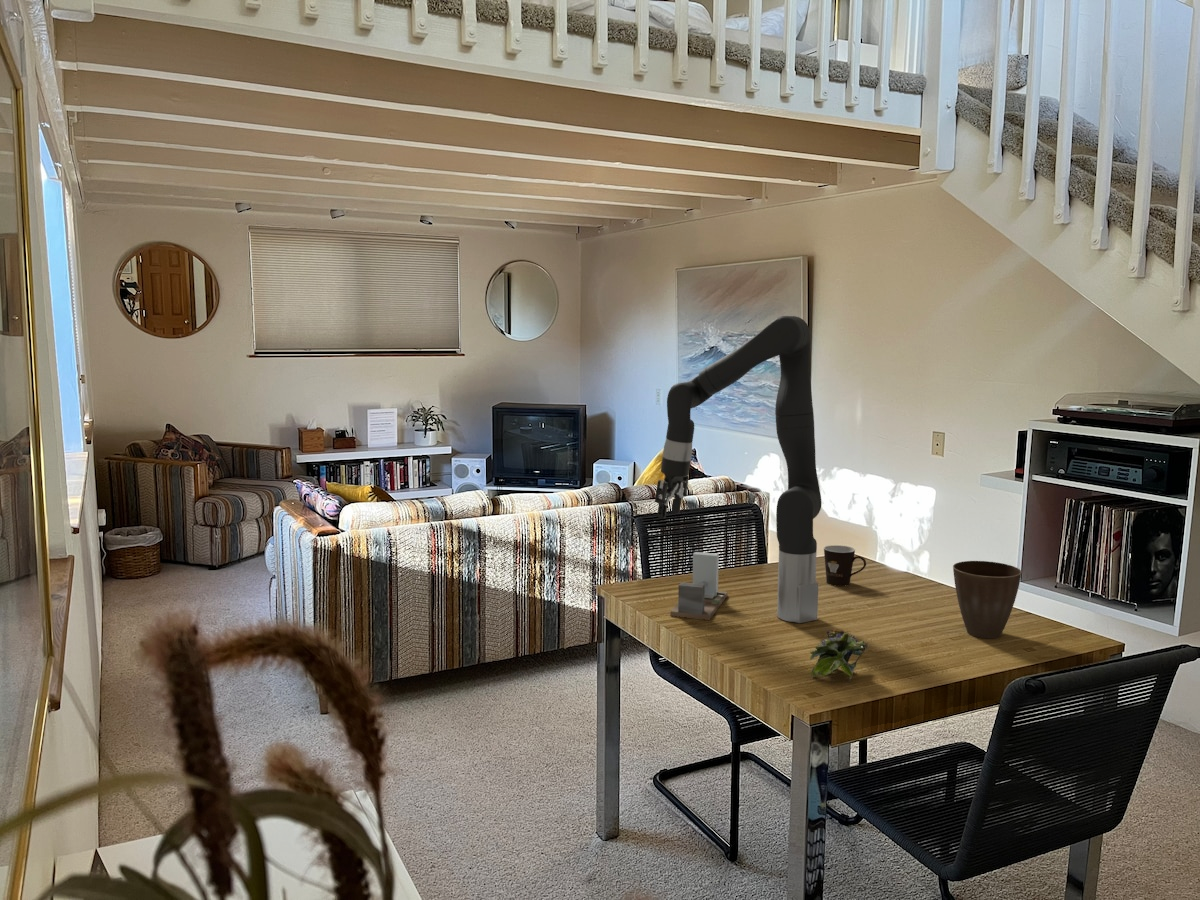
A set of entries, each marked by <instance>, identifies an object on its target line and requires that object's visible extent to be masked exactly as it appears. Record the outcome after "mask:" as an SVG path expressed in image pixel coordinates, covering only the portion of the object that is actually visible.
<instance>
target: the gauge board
mask: <svg viewBox="0 0 1200 900" xmlns="http://www.w3.org/2000/svg"><path fill="white" fill-rule="evenodd" d="M718 593H725V596H724V595H717V596H714V597H713V599H712V598H705V584H696V583H693V582H683V581H681V582H680V583H679V584H678V596H677V597H678V598H677V599H678V602H677V604H676V605H675V606H673V608H672V609H671V610H670V617H675V616H677V617H678V618H684V617H687V619H695V620H703V619H705V620H704V621H710V620H711V619H712V618H713V616H714V615H715V614H716V612H717V611H718V610H719V608H720V607H721V605H722V604H723V603H724V601H725V600H726V599H725V598H727V597H728V591H724V590H718ZM722 602H723V603H722ZM719 606H720V607H719ZM679 616H680V617H679ZM710 618H711V619H710Z"/></svg>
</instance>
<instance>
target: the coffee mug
mask: <svg viewBox="0 0 1200 900" xmlns="http://www.w3.org/2000/svg"><path fill="white" fill-rule="evenodd" d="M855 552H856V549H855V548H854V547H851V546H847V545H841V544H840V545H838V544H834V545H831V544H830V545H826V546H824V547H823V554H824V567H825V577H826V578H825V580H826V583H827V584H828V585H830V584H831V586H834V585H836V587H847V586H849V585H850V584H851V577H852V576H853V575H856V574H858V573H860V572H862V571H863V570H865V568H866V566H867V562H866V559H865V558H864V557H863V556H860V555H856V556H855ZM856 559H861V561H862V562H863V566H862V567H861V568H860V569H858V570H856V571H854V572H852V571H853V565H854V562H855V560H856ZM845 585H846V586H845Z"/></svg>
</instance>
